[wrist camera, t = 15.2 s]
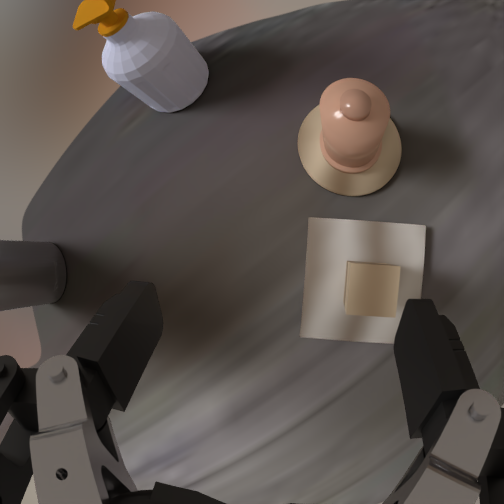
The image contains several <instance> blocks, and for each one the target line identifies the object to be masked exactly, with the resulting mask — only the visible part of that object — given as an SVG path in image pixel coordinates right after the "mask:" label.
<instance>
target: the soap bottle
mask: <svg viewBox="0 0 504 504" xmlns="http://www.w3.org/2000/svg"><path fill="white" fill-rule="evenodd" d="M115 1H116V0H84V1H83V2H82V3H81V4H80V6H79V7H78V10H77V13H76V17H75V20H74V23H73V28H74V29H75V30H80V29H82V28H84V27H85V26H87V25H89V24H91V23H92V24H96V23H100V24H99V26H98V32H99V33H100V34H101V35H102V36H103V37H104V38H106V39H107V41H106V44H105V47H104V51H103V53H102V65H103V67H104V69H105V71H106V73H107V74H108V76H109V78H111V79H112V80H114V81H115V82H117V83H118V84H119V85H121V86H122V87H124V88H125V89H126V90H128V91H129V92H131V93H132V94H133V95H135V96H136V97H138V98H139V99H140V100H142V101H143V102H144V103H146V104H147V105H149V106H150V107H151V108H153V109H155V110H157V111H159V112H169V113H170V112H174V111H178V110H182V109H184V108H185V107H187V106H189V105H190V104H192V103H193V102H194V101H195V100H196V99H197V98H198V97H199V96H200V95H201V94H202V92H203V90H204V89H205V87H206V85H207V82H208V76H209V70H208V66H207V63H206V62H205V60H204V59H203V58H202V56H201V55H200V54H199V52H198V51H197V50H196V48H195V47H194V46H193V44H192V43H191V42H190V41H189V39H188V38H187V37H186V35H185V34H184V33H183V32H182V30H181V29H180V28H179V26H178V25H177V24H176V23H175V22H174V21H173V20H172V19H171V18H170V17H169V16H167V15H165V14H162V13H158V12H146V13H141V14H138V15H135V16H133V17H132V16H131V15H130V14H129V13H128V12H127V11H125V10H124V9H122V8H119V9H116V10H113V9H114V5H115Z"/></svg>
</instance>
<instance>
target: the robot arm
mask: <svg viewBox="0 0 504 504" xmlns="http://www.w3.org/2000/svg"><path fill="white" fill-rule="evenodd" d="M65 285H66V266H65V261H64V258H63V255H62V253H61V251H60V250H59V249H58V247H57V246H56V245H54V244H53V243H51V242H34V241H9V240H7V241H6V240H0V311H4V310H11V309H17V308H24V307H30V306H37V305H43V304H49V303H54V302H56V301H57V300H58V299H60V297H61V296H62V294H63V291H64V289H65ZM162 331H163V318H162V313H161V309H160V305H159V301H158V297H157V293H156V288H155V286H154V284H153V283H150V282H140V281H130V282H129V283H128V284H127V285H126V286H125V288H124V289H123V290H122V292H121V293H120V294H115V295H114V296H113V297H111V298H110V299H108V300H107V301H106V302H104V303H103V305H102V306H101V307H100V309H99V310H98V311H97V313H96V315H94V317H93V318H92V320H91V321H90V324H88V325H87V326H86V328H85V329H84V331H83V332H82V333H81V335H80V336H79V338H78V339H77V340H76V342H75V343H74V345H73V346H72V347H71V349H70V350H69V352H68V353H67V355H58V356H54V357H51V358H49V359H48V360H46V361H45V362H44V363H43V364H42V365H41V366H40V367H39V368H20V366H19V365H18V363H17V362H16V360H15V359H14V358H13V357H11V356H8V355H4V356H0V425H1V423H2V421H3V419H4V418H5V416H6V414H7V412H9V414H10V415H11V416H12V417H13V418H14V420H13V422H12V424H11V425H10V427H9V429H8V431H7V433H6V435H5V437H4V439H3V441H2V443H1V445H0V504H21V501H22V499H23V496H24V494H25V491H26V489H27V486H28V484H29V482H30V479H31V477H32V475H33V474H34V481H35V486H36V492H37V497H38V503H39V504H226V503H223V502H221V501H218V500H216V499H214V498H211V497H209V496H207V495H204V494H202V493H200V492H198V491H193V490H189V489H184V488H180V487H175V486H171V485H167V484H163V483H160V482H155V485H154V488H153V490H140V491H138V490H137V488H136V486H135V484H134V482H133V480H132V478H131V476H130V475H129V473H128V471H127V469H126V467H125V465H124V462H123V459H122V456H121V453H120V450H119V447H118V444H117V441H116V438H115V434H114V431H113V427H112V424H111V420H110V418H109V416H108V415H109V413H110V411H111V409H112V408H113V409H116V410H120V411H124V412H125V409H126V407H127V405H128V403H129V401H130V399H131V397H132V395H133V392H134V390H135V388H136V386H137V384H138V382H139V380H140V378H141V376H142V374H143V372H144V370H145V368H146V365H147V363H148V361H149V359H150V357H151V355H152V353H153V351H154V349H155V347H156V345H157V343H158V341H159V339H160V337H161V335H162ZM394 354H395V359H396V363H397V368H398V373H399V378H400V383H401V388H402V393H403V399H404V404H405V410H406V416H407V422H408V429H409V435H410V439H413V438H422V439H423V447H422V448H421V449H420V451H419V452H418V454H417V456H416V457H415V459H414V460H413V462H412V463H411V465H410V467H409V468H408V470H407V471H406V473H405V474H404V476H403V477H402V479H401V480H400V481H399V483H398V484H397V486H396V487H395V489H394V490H393V491H392V493H391V494H390V495H389V497H388V498H387V499H386V500H385V501H384V502H383V503H382V504H475V502H476V500H477V498H478V496H479V497H480V504H504V408H501V407H500V405H499V403H498V401H497V400H496V399H495V398H494V396H493V395H491V394H490V393H488V392H487V391H484V390H481V389H480V388H479V385H478V382H477V380H476V377H475V374H474V372H473V369H472V366H471V364H470V361H469V359H468V356H467V354H466V351H464V346H463V344H462V342H461V341H460V337H459V335H458V332H457V330H456V328H455V326H454V325H453V324H452V323H451V322H450V321H449V319H448V318H447V317H446V316H445V315H438V312H437V310H436V308H435V305H434V303H433V301H432V300H431V299H408V300H407V301H406V304H405V307H404V310H403V313H402V316H401V319H400V323H399V326H398V329H397V332H396V335H395V339H394ZM477 480H478V482H477ZM290 504H294V503H290Z"/></svg>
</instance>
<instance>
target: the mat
mask: <svg viewBox="0 0 504 504" xmlns="http://www.w3.org/2000/svg"><path fill="white" fill-rule="evenodd" d="M319 106H320V105H318V106H317V107H315V108H314V109H313V110H312V111H311V112H310V113H309V114H308V115H307V117H306V118H305V119H304V121H303V123H302V125H301V128H300V131H299V135H298V151H299V156H300V159H301V162H302V164H303V166H304V168H305V170H306V171H307V173H308V174H309V176H310V177H311V178H312V179H313V180H314V181H315V182H316V183H317V184H319V185H320V186H321V187H323V188H324V189H326V190H328V191H330V192H333V193H335V194H339V195H343V196H363V195H367V194H370V193H372V192H375V191H377V190H378V189H380V188H382V187H383V186H384V185H385V184H387V183H388V181H389V180H390V179H391V178H392V177H393V175H394V174H395V172H396V170H397V168H398V166H399V163H400V159H401V149H402V147H401V140H400V136H399V133H398V130H397V128H396V126H395V125H394V123H393V121H392V120H391V119H389V122H388V125H387V127H386V130H385V132H384V135H383V138H382V150H381V153H380V156H379V158H378V160H377V162H376V163H375V164H374V165H373V166H372V167H371V168H370V169H368V170H367V171H365V172H362V173H358V174H347V173H343V172H340V171H338V170H336V169H334V168H333V167H332V166H331V165H329V164H328V162H327V161H326V160H325V158H324V157H323V155H322V152H321V148H320V133H321V130H322V124H321V116H320V107H319Z"/></svg>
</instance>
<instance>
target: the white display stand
mask: <svg viewBox="0 0 504 504" xmlns="http://www.w3.org/2000/svg"><path fill="white" fill-rule="evenodd" d="M425 233H426V226H424V225H413V224H400V223H388V222H374V221H360V220H345V219H329V218H312V217H309V223H308V240H307V255H306V270H305V283H304V295H303V307H302V318H301V329H300V337H306V338H316V339H328V340H341V341H355V342H371V343H391V344H394V339H395V335H396V332H397V329H398V326H399V323H400V319H401V316H402V313H403V310H404V307H405V304H406V301H407V300H408V299H421V290H422V280H423V268H424V254H425Z"/></svg>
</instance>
